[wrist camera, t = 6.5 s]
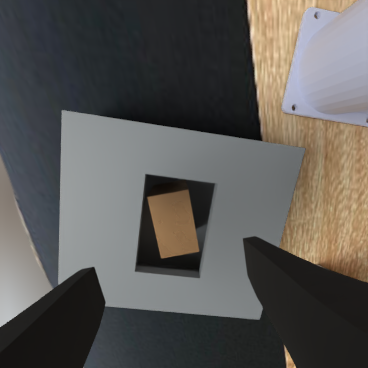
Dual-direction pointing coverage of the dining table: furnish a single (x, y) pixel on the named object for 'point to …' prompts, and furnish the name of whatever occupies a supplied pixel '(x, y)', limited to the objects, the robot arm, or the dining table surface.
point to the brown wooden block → (173, 218)
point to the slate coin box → (142, 220)
